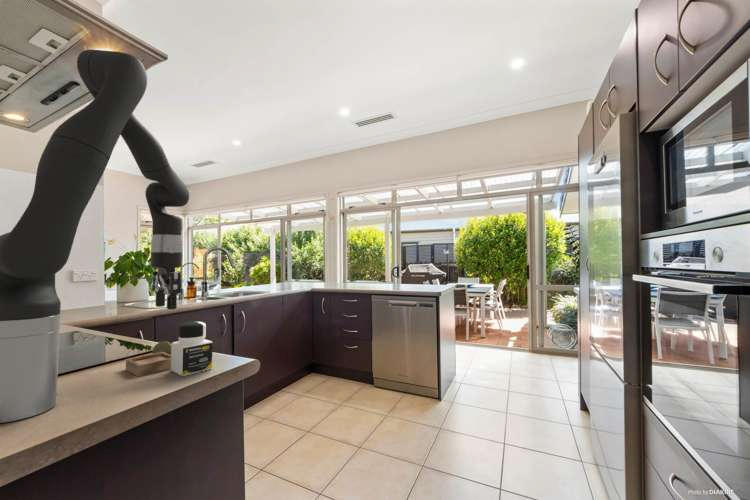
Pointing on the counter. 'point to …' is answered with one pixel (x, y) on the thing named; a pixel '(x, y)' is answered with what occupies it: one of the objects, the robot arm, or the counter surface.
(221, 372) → the counter surface
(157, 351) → the lime
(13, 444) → the counter surface
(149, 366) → the base
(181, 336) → the medicine bottle
